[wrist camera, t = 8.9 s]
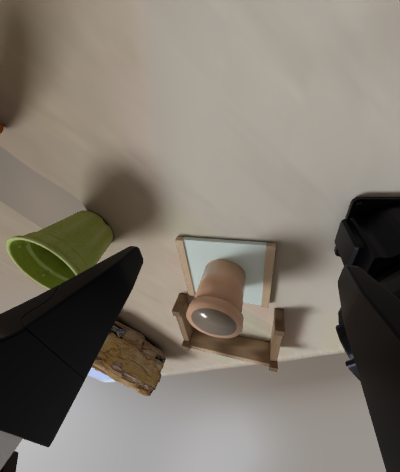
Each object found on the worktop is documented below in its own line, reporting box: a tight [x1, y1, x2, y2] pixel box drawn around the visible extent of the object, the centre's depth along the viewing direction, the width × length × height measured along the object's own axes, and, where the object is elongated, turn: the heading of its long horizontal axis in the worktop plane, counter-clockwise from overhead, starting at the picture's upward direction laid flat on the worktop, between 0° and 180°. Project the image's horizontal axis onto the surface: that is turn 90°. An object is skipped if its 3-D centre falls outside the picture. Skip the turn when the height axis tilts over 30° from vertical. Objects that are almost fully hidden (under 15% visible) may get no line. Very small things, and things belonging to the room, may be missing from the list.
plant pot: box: [6, 211, 113, 290], centre depth 26 cm, size 9×9×9 cm
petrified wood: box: [92, 321, 166, 396], centre depth 48 cm, size 19×13×10 cm
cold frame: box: [172, 293, 285, 372], centre depth 33 cm, size 16×11×4 cm
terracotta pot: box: [186, 259, 246, 338], centre depth 24 cm, size 6×6×7 cm
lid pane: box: [175, 236, 276, 308], centre depth 27 cm, size 12×11×1 cm
